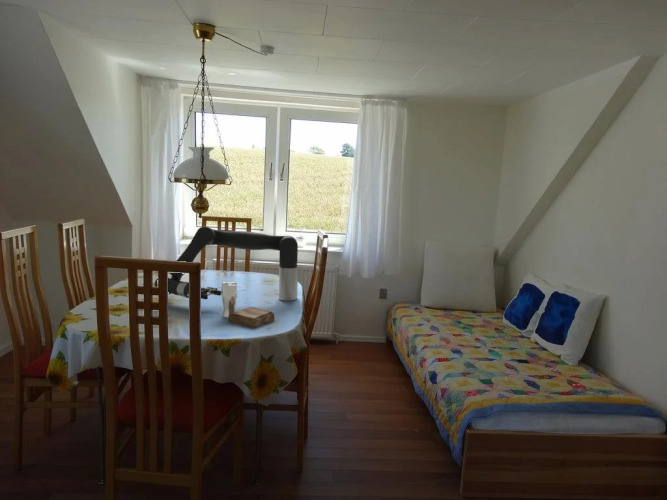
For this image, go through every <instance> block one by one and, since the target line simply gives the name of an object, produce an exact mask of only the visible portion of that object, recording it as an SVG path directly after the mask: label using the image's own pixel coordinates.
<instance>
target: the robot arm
mask: <svg viewBox="0 0 667 500" xmlns="http://www.w3.org/2000/svg"><path fill="white" fill-rule="evenodd" d="M206 246H227V247H231V248H235V249H240V250H248V251H249V250H251V251H259V250H275V251H278V252H279V259H278V260H279V261H278V262H279V263H278V265H279V268H278V270H279V271H278V272H279V273H278V274H279V275H278V277H279V278H278V279H279V280H278V300H279V301H284V302H293V301H296V300H297V298H298V252H299V251H298V250H299V247H298V242H297V239H296V238H295V237H294V236H291V235H271V234H266V233H261V232H255V231H248V230H247V231H246V230H234V231H233V230H231V231H230V230H229V231H226V230H219V229H214V228H211V227H210V226H200V227H199V228H197V229H196V232H195V234H194V235H193V237H192V239H191V241H190V242H189V244H188V246H187V247H186V248H185V249H184V251H183V252H182V253H181V255H180V256H179V257H178V258H177V259H176V261H186V262H192V263H193V262H194V261H195V259H196V257H197V256H198V255H199V253H200V252H201V251H202V250H203V249H204V248H205V247H206ZM169 274H170V276H171V277H167V278H168V292H169V294H168V295H171V294H172V295H175V296H179V297H182V298H186V299H190V298H189V282H190V281H181V279H182V277H183V276H184V275H185V273H184V274H182V273H169ZM157 280H158V278H156V279H155V281H154V287H157ZM211 295H213V296H214V295H215V296H219V297H220V296H221V290H219V289H218V288H217V287H213V286H212V287H211V286H207V287H201V300H202V299H203V300H208V299H209V296H211Z"/></svg>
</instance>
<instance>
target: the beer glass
mask: <svg viewBox="0 0 667 500" xmlns="http://www.w3.org/2000/svg"><path fill="white" fill-rule="evenodd" d="M220 291H221V295H220V296H221V300H222V302H221V303H222V307H223V310H222V314H221V315H222V317H223V318H226V319H229V315H230V314H231V313H233V312H236V305H237V298H238V283H237V282H233V281H232V282H231V281H227V282H226V281H225V282H222V283H221V290H220Z"/></svg>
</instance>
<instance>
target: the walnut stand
mask: <svg viewBox="0 0 667 500" xmlns="http://www.w3.org/2000/svg"><path fill="white" fill-rule="evenodd" d="M235 311H236V310H235ZM273 321H275V312H272V310H268V309H263V308H259V307H253V306H248V307H245V308H243V309H239V310H237V311H236V312H233V313H231V314H230V315H229V318H228V323H231V324H235V325H240V326H243V327H246V328H247V327H248V328H252V329H255V328H258V327H261V326H262V325H266V324H268V323H270V322H273Z"/></svg>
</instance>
